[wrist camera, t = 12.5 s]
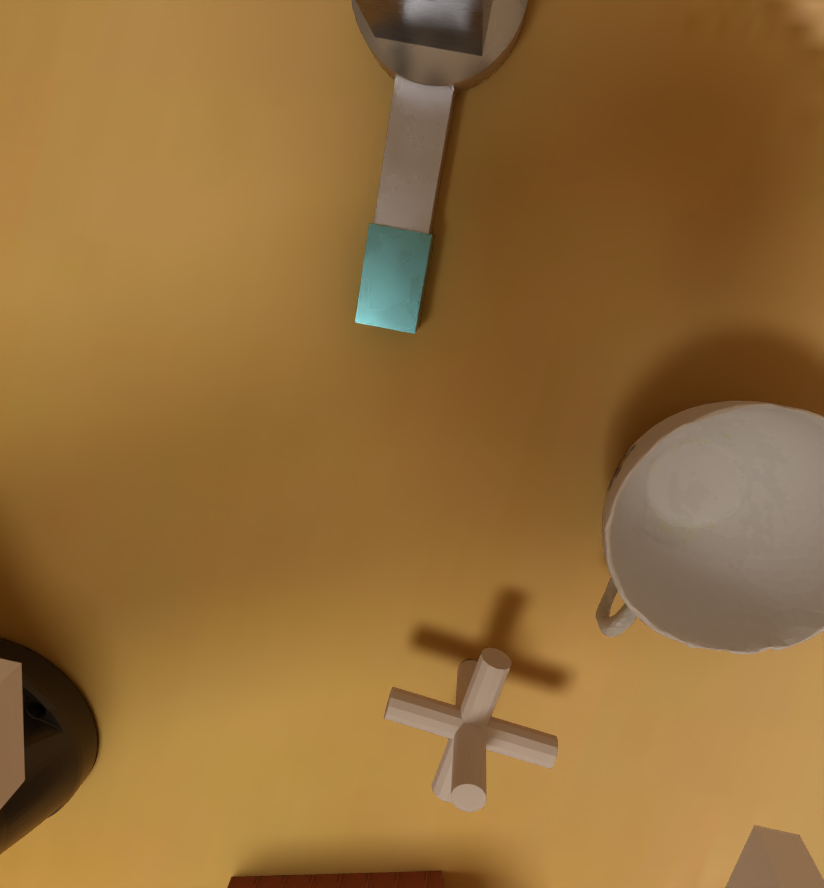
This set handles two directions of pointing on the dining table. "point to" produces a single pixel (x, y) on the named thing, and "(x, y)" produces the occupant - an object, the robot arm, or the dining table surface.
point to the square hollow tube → (430, 22)
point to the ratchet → (418, 161)
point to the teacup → (720, 528)
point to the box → (343, 880)
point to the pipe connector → (471, 730)
